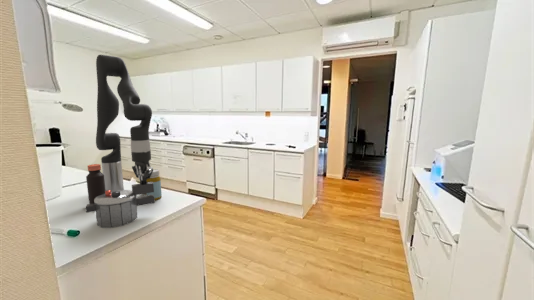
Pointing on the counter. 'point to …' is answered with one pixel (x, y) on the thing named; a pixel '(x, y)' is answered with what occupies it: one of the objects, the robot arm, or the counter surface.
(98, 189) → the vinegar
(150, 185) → the lid
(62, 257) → the counter surface
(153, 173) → the bottle
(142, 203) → the pot
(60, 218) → the counter surface
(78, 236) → the counter surface
